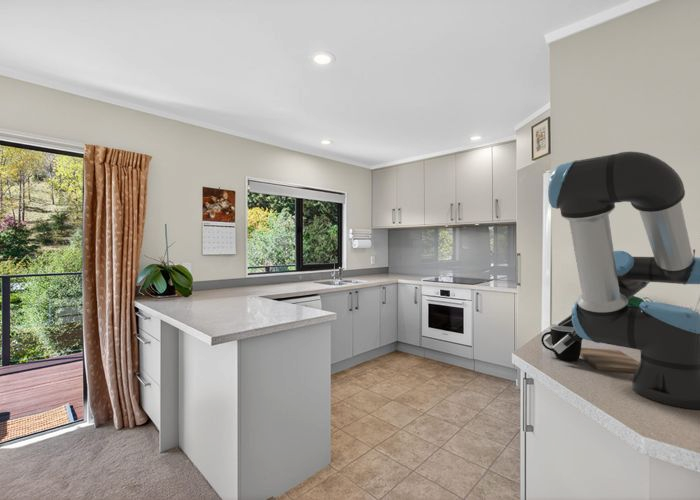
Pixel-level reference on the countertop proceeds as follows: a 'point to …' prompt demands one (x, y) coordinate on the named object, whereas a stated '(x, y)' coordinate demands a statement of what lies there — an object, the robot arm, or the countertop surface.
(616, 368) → the walnut board
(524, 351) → the countertop surface
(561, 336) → the mug
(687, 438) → the countertop surface
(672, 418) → the countertop surface
